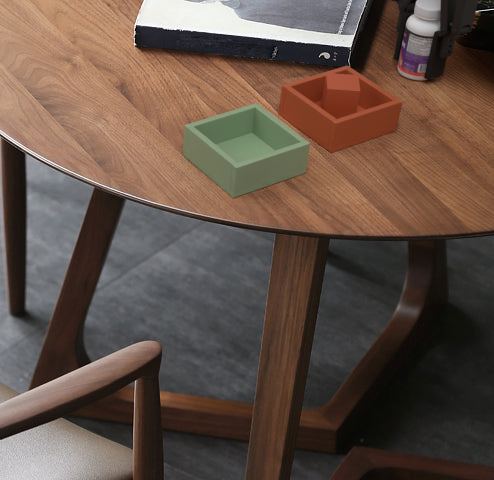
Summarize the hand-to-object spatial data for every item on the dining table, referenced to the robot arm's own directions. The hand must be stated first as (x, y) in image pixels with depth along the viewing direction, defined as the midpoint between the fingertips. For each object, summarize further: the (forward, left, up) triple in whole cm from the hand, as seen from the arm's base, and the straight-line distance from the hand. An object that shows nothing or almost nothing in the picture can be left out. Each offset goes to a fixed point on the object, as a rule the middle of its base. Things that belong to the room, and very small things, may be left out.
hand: (417, 66), depth 146 cm
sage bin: (-7, +34, -1) cm, 35 cm away
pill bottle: (0, 0, -1) cm, 1 cm away
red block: (-5, +18, 0) cm, 19 cm away
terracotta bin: (-5, +18, -1) cm, 19 cm away
